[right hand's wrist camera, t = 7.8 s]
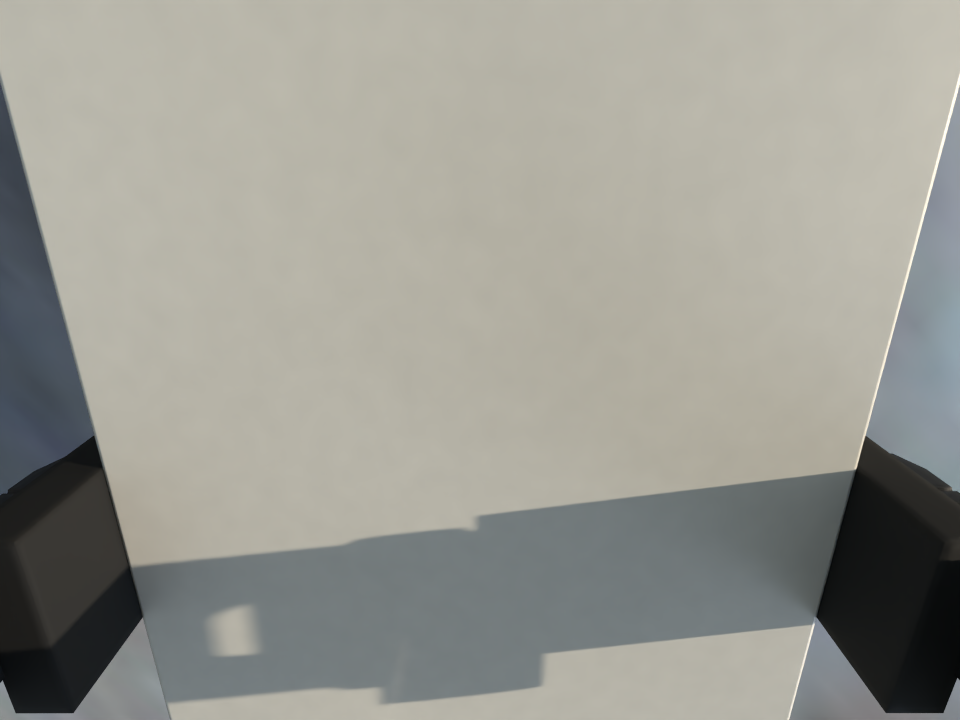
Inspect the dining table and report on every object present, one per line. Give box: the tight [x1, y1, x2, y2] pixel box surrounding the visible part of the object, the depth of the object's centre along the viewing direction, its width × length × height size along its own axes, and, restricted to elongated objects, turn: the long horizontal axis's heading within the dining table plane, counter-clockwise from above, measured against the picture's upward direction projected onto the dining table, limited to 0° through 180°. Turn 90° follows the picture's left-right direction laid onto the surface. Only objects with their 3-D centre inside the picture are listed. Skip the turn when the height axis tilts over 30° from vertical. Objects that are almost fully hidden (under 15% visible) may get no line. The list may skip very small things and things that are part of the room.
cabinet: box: [0, 0, 960, 720], centre depth 11 cm, size 21×11×10 cm, turn 0°
